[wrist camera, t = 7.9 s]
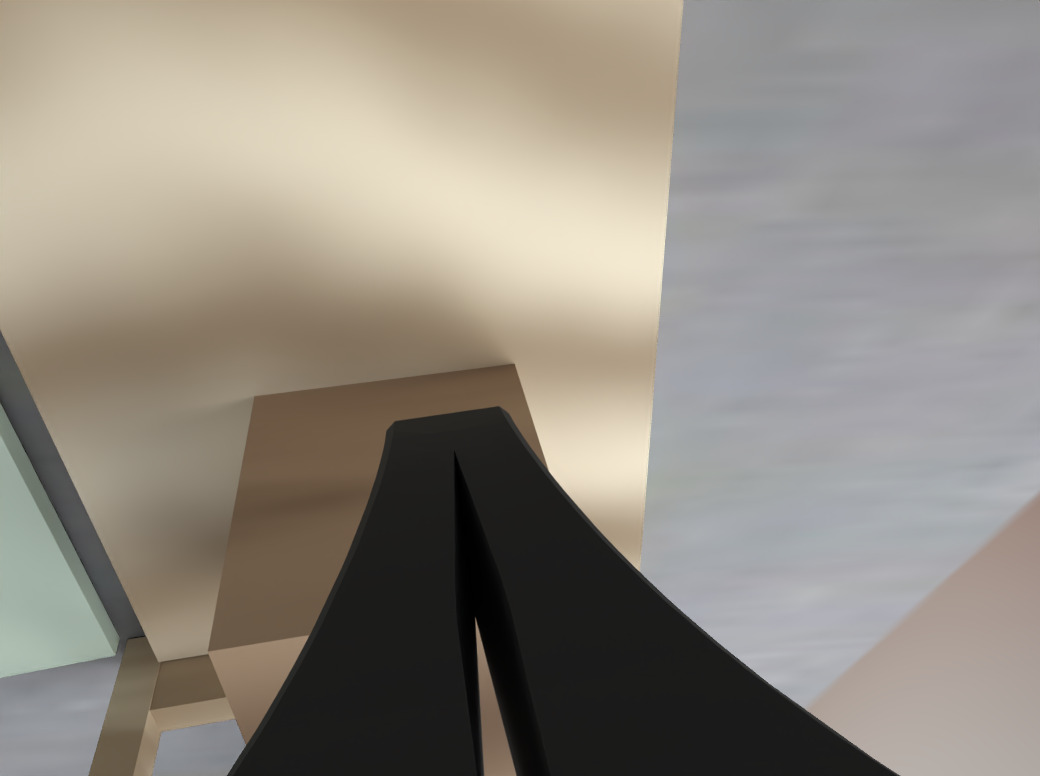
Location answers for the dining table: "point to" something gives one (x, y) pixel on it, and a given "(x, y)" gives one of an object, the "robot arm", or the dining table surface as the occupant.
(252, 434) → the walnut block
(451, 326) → the cart bed
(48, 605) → the panel
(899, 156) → the dining table surface
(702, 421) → the dining table surface
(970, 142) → the dining table surface
